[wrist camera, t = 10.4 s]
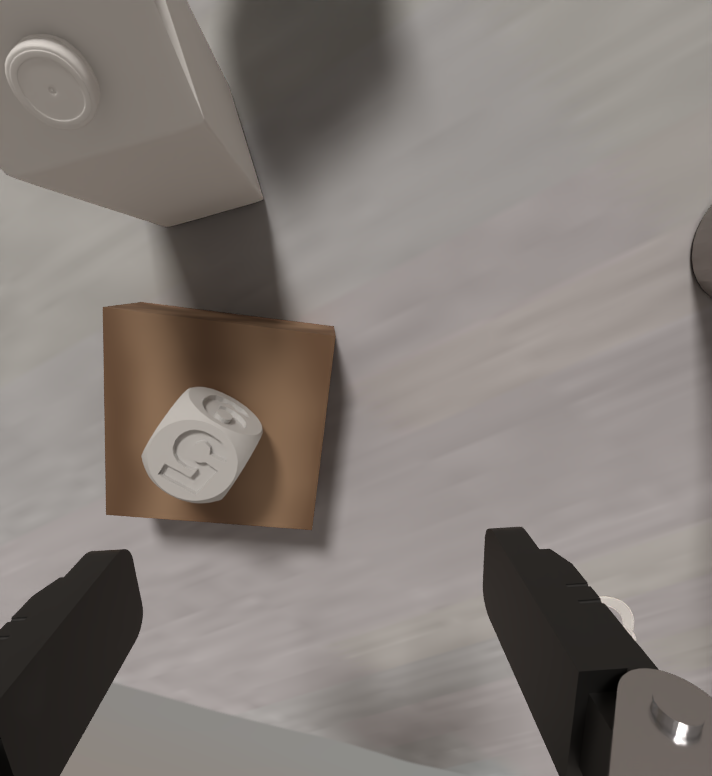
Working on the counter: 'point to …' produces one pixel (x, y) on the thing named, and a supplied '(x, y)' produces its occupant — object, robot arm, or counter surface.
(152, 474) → the die
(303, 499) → the walnut block
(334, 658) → the counter surface
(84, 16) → the milk carton
